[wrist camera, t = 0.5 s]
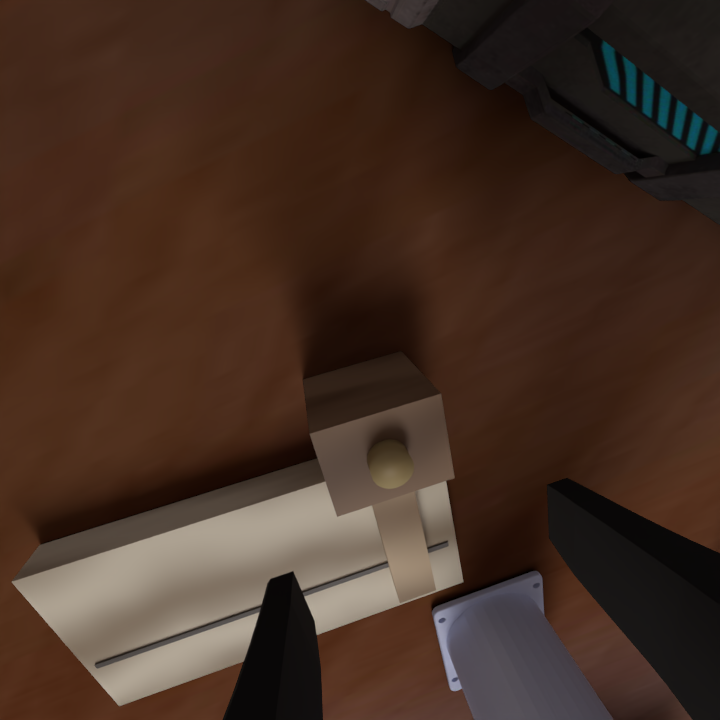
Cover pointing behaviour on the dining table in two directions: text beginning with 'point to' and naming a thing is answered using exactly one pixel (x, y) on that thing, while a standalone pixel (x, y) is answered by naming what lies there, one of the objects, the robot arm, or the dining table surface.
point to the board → (218, 576)
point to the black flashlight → (602, 79)
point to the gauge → (382, 453)
